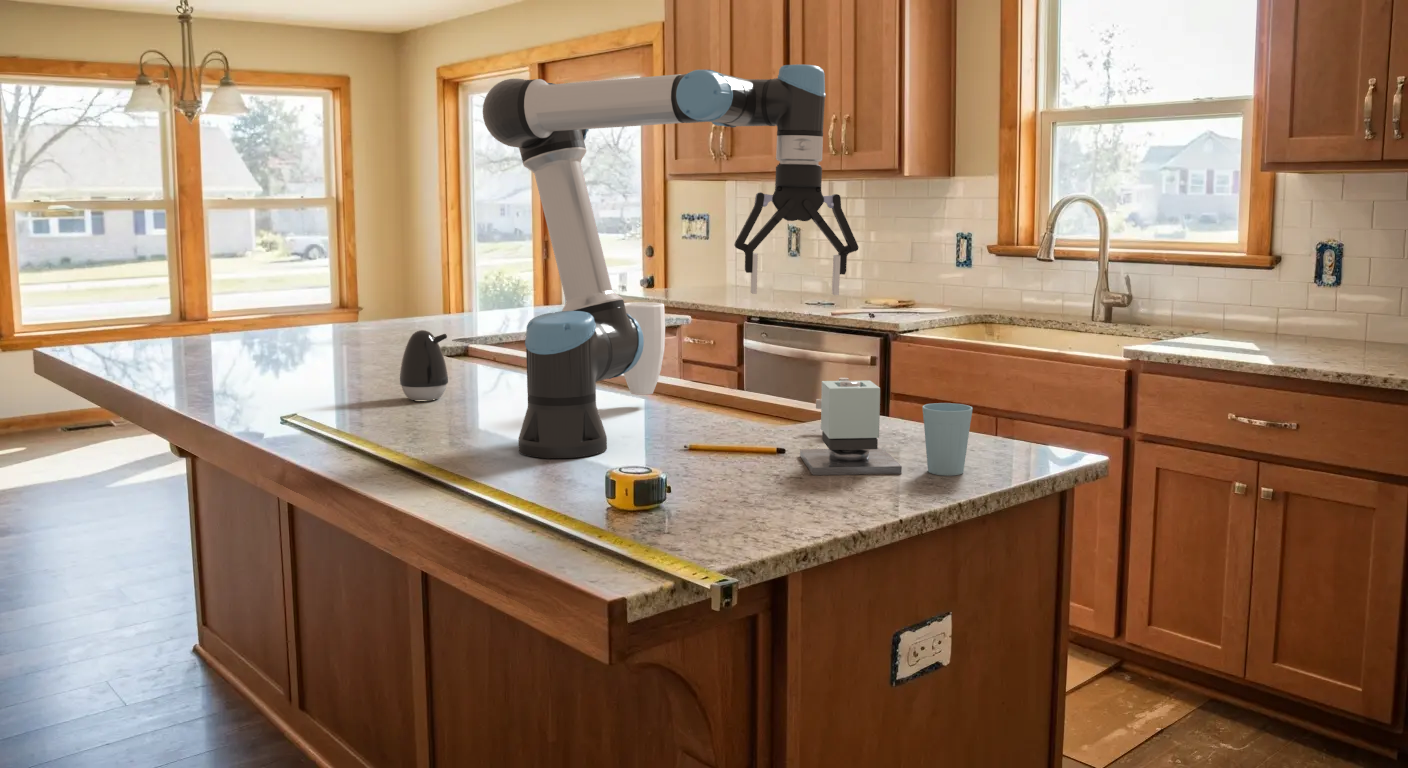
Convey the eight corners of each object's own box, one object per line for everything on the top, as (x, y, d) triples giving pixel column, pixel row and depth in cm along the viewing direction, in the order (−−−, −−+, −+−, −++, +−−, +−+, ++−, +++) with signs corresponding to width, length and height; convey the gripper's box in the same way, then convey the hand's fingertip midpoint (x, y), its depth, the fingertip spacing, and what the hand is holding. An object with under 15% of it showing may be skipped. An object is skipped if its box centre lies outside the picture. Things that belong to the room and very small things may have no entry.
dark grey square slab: (829, 449, 187) (830, 440, 186) (822, 440, 194) (822, 430, 194) (877, 449, 187) (877, 439, 187) (868, 439, 195) (868, 430, 194)
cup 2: (676, 405, 248) (676, 303, 245) (648, 412, 239) (647, 306, 236) (636, 401, 254) (635, 301, 250) (607, 408, 245) (605, 304, 242)
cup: (976, 477, 182) (978, 410, 181) (927, 478, 182) (929, 411, 180) (963, 466, 190) (964, 402, 188) (916, 467, 189) (917, 403, 188)
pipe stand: (812, 475, 184) (813, 389, 182) (800, 456, 198) (800, 376, 196) (901, 473, 185) (903, 388, 183) (882, 455, 198) (884, 375, 196)
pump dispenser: (443, 403, 251) (441, 332, 249) (395, 403, 252) (392, 332, 249) (454, 395, 261) (452, 327, 259) (407, 395, 262) (404, 327, 259)
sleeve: (829, 438, 186) (829, 388, 185) (821, 429, 194) (821, 381, 193) (879, 437, 187) (880, 387, 185) (869, 428, 195) (870, 380, 193)
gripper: (723, 161, 188) (720, 294, 191) (879, 164, 189) (873, 297, 192) (721, 162, 195) (718, 290, 198) (870, 165, 196) (865, 293, 200)
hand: (794, 294), depth 195 cm, fingers open, 13 cm apart
